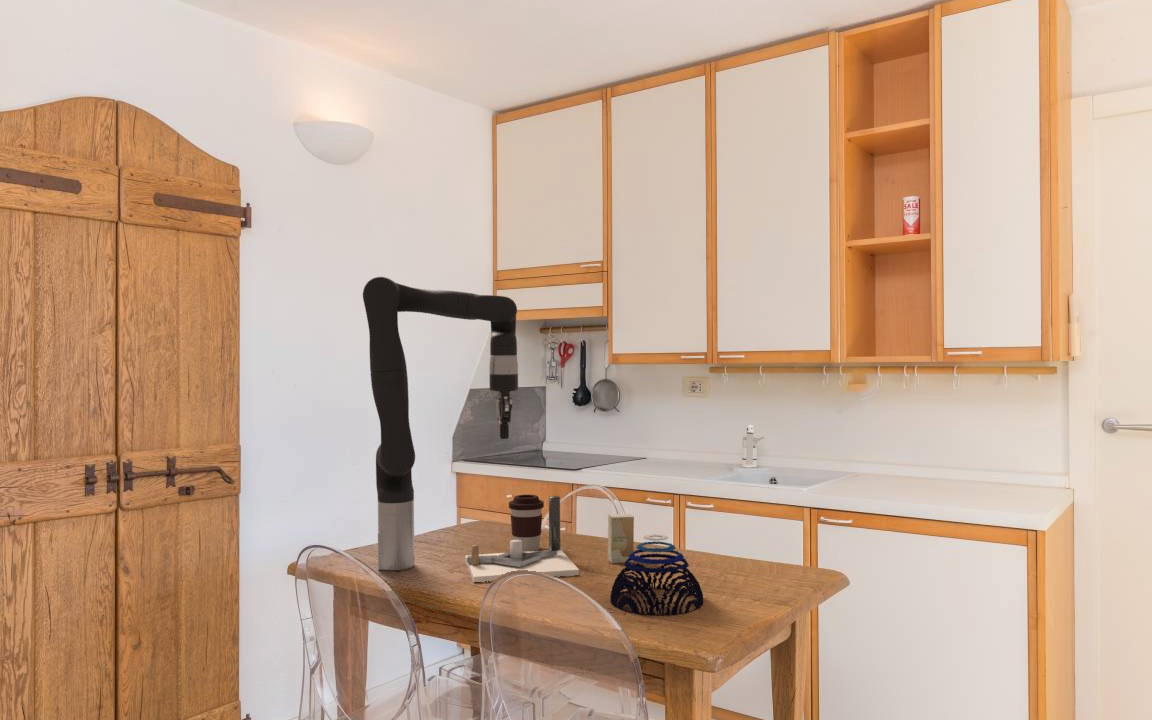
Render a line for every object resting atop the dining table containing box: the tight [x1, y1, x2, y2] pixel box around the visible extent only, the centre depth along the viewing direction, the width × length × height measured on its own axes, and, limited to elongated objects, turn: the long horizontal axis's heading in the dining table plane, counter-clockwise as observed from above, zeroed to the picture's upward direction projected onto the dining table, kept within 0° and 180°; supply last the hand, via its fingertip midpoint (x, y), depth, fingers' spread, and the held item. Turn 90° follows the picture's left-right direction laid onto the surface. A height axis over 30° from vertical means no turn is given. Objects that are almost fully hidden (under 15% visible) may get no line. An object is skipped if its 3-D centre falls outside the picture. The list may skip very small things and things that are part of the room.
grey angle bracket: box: [467, 495, 562, 567], centre depth 209 cm, size 20×17×15 cm
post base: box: [465, 539, 580, 583], centre depth 206 cm, size 26×22×7 cm
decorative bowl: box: [609, 533, 704, 617], centre depth 177 cm, size 20×20×14 cm
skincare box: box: [607, 513, 635, 564], centre depth 212 cm, size 6×4×12 cm
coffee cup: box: [508, 494, 545, 552], centre depth 227 cm, size 10×10×15 cm
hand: (504, 438), depth 211 cm, fingers closed
